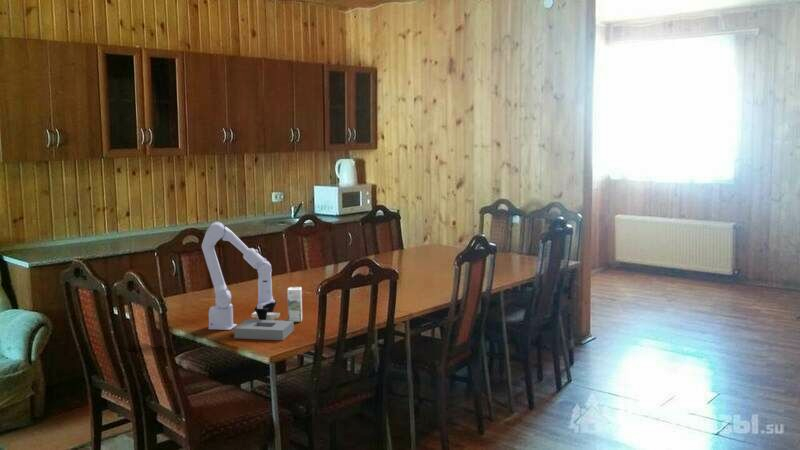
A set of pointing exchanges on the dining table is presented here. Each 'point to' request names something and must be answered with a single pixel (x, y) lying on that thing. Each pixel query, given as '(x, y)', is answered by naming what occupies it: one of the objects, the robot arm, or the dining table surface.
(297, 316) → the syrup box
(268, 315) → the tee block
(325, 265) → the dining table surface
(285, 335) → the slotted board
